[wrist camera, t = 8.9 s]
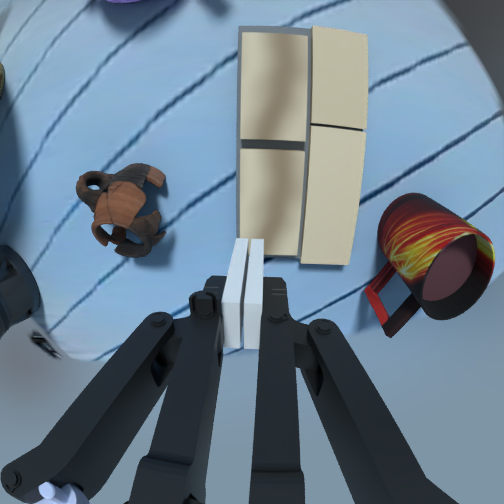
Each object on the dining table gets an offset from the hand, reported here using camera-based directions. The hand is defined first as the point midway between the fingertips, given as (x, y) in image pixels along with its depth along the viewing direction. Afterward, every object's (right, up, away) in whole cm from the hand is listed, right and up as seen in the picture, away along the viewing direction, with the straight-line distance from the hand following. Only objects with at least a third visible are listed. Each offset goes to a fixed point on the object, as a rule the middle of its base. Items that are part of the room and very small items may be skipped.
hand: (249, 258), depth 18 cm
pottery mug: (-14, +7, +13) cm, 21 cm away
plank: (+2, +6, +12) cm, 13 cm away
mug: (+20, +1, +14) cm, 25 cm away
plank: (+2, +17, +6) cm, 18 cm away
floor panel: (+5, +12, +10) cm, 16 cm away
